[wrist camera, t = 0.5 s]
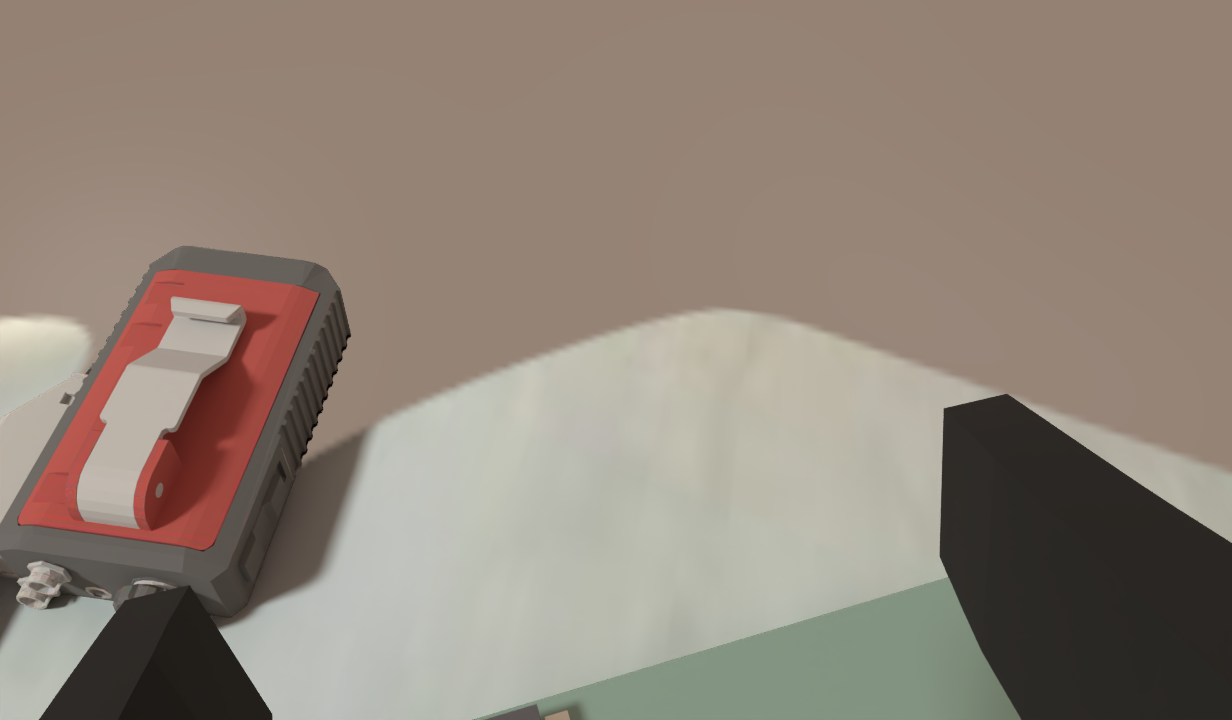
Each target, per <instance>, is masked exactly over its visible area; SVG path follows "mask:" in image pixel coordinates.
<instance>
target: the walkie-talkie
mask: <svg viewBox="0 0 1232 720" xmlns="http://www.w3.org/2000/svg"><path fill="white" fill-rule="evenodd" d="M149 266H150V269H149V270H148V272H147V273H146V274H144V275H143V281H142V283H141V284H140V285H139V286H137V288H136V293H135V295H134V296H133V298H130V300H129V302H128V303H129V305H128V307H127V309H126V310H124V311H123V312H122V314H121V315H122V317H121V319H120V321H119V322H118V323H116V324H115V326H114V331H113V333H112V335H111V336H109V337H108V338H107V340H106V342H107V343H106V345H105V347H104V349H102V350H100V352H99V353H98V354H99V357H98V359H97V361H96V362H95V363H93V364H92V366H91V367H90V369H89V370H88V371H87V373H86V374H80V373H73V374H72V376H71V377H70V378H69V379H67V380H65V381H64V382H62V383H60V384H58V385H57V386H55V387H53V388H52V389H50V390H48V391H46V392H45V393H43V394H41V395H39V396H38V397H36V398H34V399H33V400H31V401H29V402H27V403H26V404H24V405H22V406H20V407H19V408H17V409H15V410H13V411H12V412H10V413H8V414H7V415H5V416H4V417H3V418H2V419H1V420H0V572H5V573H12V574H17V575H18V576H19V577H20V578H19V580H18V581H17V583H18V584H19V585H20V586H21V589H20V591H19V593H18V594H17V596H16V599H17V601H18V602H20V603H21V604H23V605H26V606H28V607H31V608H35V609H45V608H47V606H48V604H49V602H50V600H51V598H52V597H57V596H60V594H61V593H62V594H69V595H76V596H83V597H90V598H97V599H104V600H111V601H114V602H113V606H114V609H115V611H117V610H118V609H119V607H120V606H121V605H122V603H123V602H124V601H125V600H127V599H132V598H136V597H140V596H144V595H149V594H153V593H157V592H162V591H166V590H170V589H174V588H179V587H183V586H187V585H190V586H191V588H192V590H193V591H194V593H195V594H196V596H197V597H198V599H199V600H200V602H201V604H202V605H203V607H204V608H205V610H206V611H207V613H208V614H210V615H217V616H224V617H232V616H233V615H235V614H236V613H237V612H238V611H240V610H241V609H242V608H244V607H245V606H246V605H247V603H248V601H249V598H250V595H251V593H252V590H253V587H254V585H255V582H256V580H257V577H258V574H259V572H260V569H261V566H262V564H263V561H264V559H265V556H266V553H267V551H268V548H269V546H270V543H271V540H272V538H273V535H274V532H275V530H276V527H277V525H278V522H279V519H280V517H281V514H282V511H283V509H284V506H285V504H286V501H287V498H288V496H289V493H290V491H291V488H292V485H293V483H294V480H295V477H296V475H295V472H294V471H295V469H296V466H300V464H301V463H302V462H301V460H302V458H303V456H304V455H305V454H306V453H307V451H308V449H307V444H308V442H309V441H311V440H312V438H313V434H312V431H313V429H314V428H315V427H316V426H317V424H318V420H317V418H318V416H319V414H320V413H322V411H323V406H322V405H323V403H324V401H325V400H327V398H328V389H329V388H330V387H332V385H333V380H332V379H333V376H334V375H335V374H337V372H338V368H337V366H338V363H339V362H341V361H342V359H343V356H342V353H343V351H344V350H346V348H347V340H348V338H350V337H351V333H350V329H349V324H348V320H347V316H346V312H345V308H344V303H343V299H342V295H341V291H340V288H339V287H338V285H337V284H336V282H335V281H334V279H333V278H332V276H331V275H330V273H329V271H328V270H327V269H326V268H324V267H322V266H320V265H318V264H316V263H312V262H308V261H303V260H295V259H287V258H280V257H272V256H264V255H257V254H249V253H241V252H233V251H226V250H217V249H210V248H203V247H195V246H181V247H179V248H176V249H174V250H172V251H171V252H169V253H167V254H166V255H164V256H163V257H161V258H159V259H158V260H156V261H155V262H153V263H152V264H150V265H149Z"/></svg>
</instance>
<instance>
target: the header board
mask: <svg viewBox="0 0 1232 720" xmlns="http://www.w3.org/2000/svg"><path fill="white" fill-rule="evenodd" d="M474 720H1021V718H1020V716H1019V715H1018V713H1017V711H1016V710H1015V708H1014V706H1013V704H1012V703H1011V701H1010V699H1009V698H1008V696H1007V694H1006V693H1005V691H1004V689H1003V687H1002V686H1001V684H1000V682H999V681H998V679H997V677H996V676H995V674H994V672H993V670H992V669H991V667H990V665H989V663H988V662H987V660H986V658H985V656H984V655H983V653H982V651H981V649H980V647H979V645H978V642H977V640H976V638H975V636H974V634H973V631H972V629H971V627H970V625H969V623H968V620H967V618H966V616H965V614H964V612H963V609H962V607H961V605H960V603H959V600H958V598H957V596H956V593H955V591H954V589H953V586H952V584H951V582H950V579H949V577H948V578H944V579H941V580H938V581H934V582H931V583H928V584H924V585H921V586H918V587H914V588H911V589H908V590H904V591H901V592H898V593H894V594H891V595H888V596H884V597H881V598H878V599H874V600H871V601H868V602H864V603H861V604H858V605H854V606H851V607H848V608H844V609H841V610H838V611H834V612H831V613H828V614H824V615H821V616H818V617H814V618H811V619H808V620H804V621H801V622H798V623H794V624H791V625H788V626H784V627H781V628H778V629H774V630H771V631H767V632H764V633H761V634H757V635H754V636H751V637H747V638H744V639H741V640H737V641H734V642H731V643H727V644H724V645H721V646H717V647H714V648H711V649H707V650H704V651H701V652H697V653H694V654H691V655H687V656H684V657H681V658H677V659H674V660H671V661H667V662H664V663H661V664H657V665H654V666H651V667H647V668H644V669H641V670H637V671H634V672H631V673H627V674H624V675H621V676H617V677H614V678H611V679H607V680H604V681H601V682H597V683H594V684H591V685H587V686H584V687H581V688H577V689H574V690H571V691H567V692H564V693H561V694H557V695H554V696H551V697H547V698H544V699H541V700H537V701H534V702H531V703H527V704H524V705H521V706H517V707H514V708H510V709H507V710H504V711H500V712H497V713H494V714H490V715H487V716H484V717H480V718H477V719H474Z"/></svg>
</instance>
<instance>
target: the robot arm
mask: <svg viewBox="0 0 1232 720" xmlns="http://www.w3.org/2000/svg"><path fill="white" fill-rule="evenodd" d="M940 558H941V560H942V563H943V565H944V567H945V570H946V572H947V574H948V577H949V579H950V582H951V584H952V586H953V589H954V591H955V593H956V596H957V598H958V600H959V603H960V605H961V607H962V609H963V612H964V614H965V616H966V618H967V620H968V623H969V625H970V627H971V629H972V631H973V634H974V636H975V638H976V640H977V642H978V645H979V647H980V649H981V651H982V653H983V655H984V656H985V658H986V660H987V662H988V663H989V665H990V667H991V669H992V670H993V672H994V674H995V676H996V677H997V679H998V681H999V682H1000V684H1001V686H1002V687H1003V689H1004V691H1005V693H1006V694H1007V696H1008V698H1009V699H1010V701H1011V703H1012V704H1013V706H1014V708H1015V710H1016V711H1017V713H1018V715H1019V716H1020V718H1021V720H1232V543H1231V542H1229V541H1228V540H1226V539H1225V538H1223V537H1221V536H1220V535H1218V534H1217V533H1215V532H1214V531H1212V530H1210V529H1209V528H1207V527H1206V526H1204V525H1203V524H1201V523H1199V522H1198V521H1196V520H1195V519H1193V518H1191V517H1190V516H1188V515H1187V514H1185V513H1184V512H1182V511H1180V510H1179V509H1177V508H1176V507H1174V506H1173V505H1171V504H1169V503H1168V502H1166V501H1165V500H1163V499H1162V498H1160V497H1159V496H1157V495H1156V494H1154V493H1153V492H1151V491H1150V490H1148V489H1147V488H1145V487H1144V486H1142V485H1141V484H1139V483H1138V482H1136V481H1135V480H1133V479H1132V478H1130V477H1129V476H1127V475H1126V474H1124V473H1123V472H1121V471H1120V470H1118V469H1117V468H1115V467H1114V466H1112V465H1111V464H1109V463H1108V462H1106V461H1105V460H1104V459H1102V458H1101V457H1099V456H1098V455H1096V454H1095V453H1093V452H1092V451H1090V450H1089V449H1087V448H1086V447H1084V446H1083V445H1081V444H1080V443H1079V442H1077V441H1076V440H1074V439H1073V438H1071V437H1070V436H1068V435H1067V434H1065V433H1064V432H1062V431H1061V430H1060V429H1058V428H1057V427H1055V426H1054V425H1052V424H1051V423H1049V422H1048V421H1046V420H1045V419H1043V418H1042V417H1040V416H1039V415H1038V414H1036V413H1035V412H1033V411H1032V410H1030V409H1029V408H1027V407H1026V406H1024V405H1023V404H1021V403H1020V402H1018V401H1017V400H1015V399H1014V398H1012V397H1011V396H1009V395H1008V394H1004V395H1000V396H995V397H991V398H987V399H983V400H978V401H974V402H970V403H966V404H961V405H957V406H953V407H948V408H944V421H943V456H942V492H941V527H940ZM39 720H272V713H271V711H270V710H269V708H268V707H267V705H266V704H265V702H264V700H263V699H262V697H261V696H260V694H259V693H258V691H257V690H256V688H255V686H254V685H253V683H252V682H251V680H250V679H249V677H248V675H247V674H246V672H245V671H244V669H243V668H242V666H241V665H240V663H239V661H238V660H237V658H236V657H235V655H234V654H233V652H232V650H231V649H230V647H229V646H228V644H227V643H226V641H225V640H224V638H223V636H222V635H221V633H220V632H219V630H218V629H217V627H216V625H215V624H214V622H213V621H212V619H211V618H210V616H209V615H208V613H207V611H206V610H205V608H204V607H203V605H202V604H201V602H200V600H199V599H198V597H197V596H196V594H195V593H194V591H193V590H192V588H191V586H190V585H187V586H183V587H179V588H174V589H170V590H166V591H162V592H157V593H153V594H149V595H144V596H140V597H136V598H132V599H127V600H125V601H124V602H123V603H122V605H121V606H120V607H119V609H118V610H117V611H116V613H115V614H114V615H113V617H112V618H111V619H110V621H109V622H108V623H107V625H106V626H105V627H104V629H103V630H102V632H101V633H100V634H99V636H98V637H97V639H96V640H95V641H94V643H93V644H92V646H91V647H90V648H89V650H88V651H87V653H86V654H85V655H84V657H83V658H82V660H81V661H80V662H79V664H78V665H77V667H76V668H75V669H74V671H73V672H72V674H71V675H70V677H69V678H68V679H67V681H66V682H65V684H64V685H63V686H62V688H61V689H60V691H59V692H58V694H57V695H56V696H55V698H54V699H53V701H52V702H51V703H50V705H49V706H48V708H47V709H46V711H45V712H44V713H43V715H42V716H41V718H40V719H39Z"/></svg>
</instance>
